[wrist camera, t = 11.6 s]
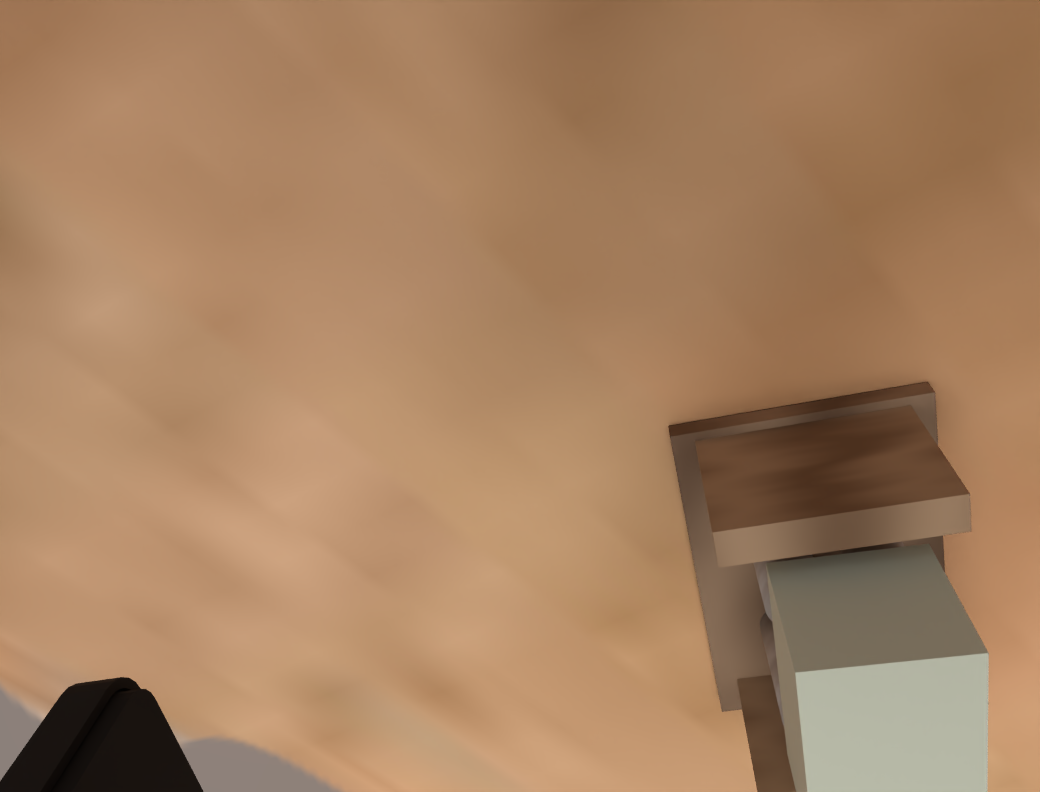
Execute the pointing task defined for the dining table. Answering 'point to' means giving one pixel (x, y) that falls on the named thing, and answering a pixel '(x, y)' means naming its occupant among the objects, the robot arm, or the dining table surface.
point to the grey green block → (879, 674)
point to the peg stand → (802, 522)
